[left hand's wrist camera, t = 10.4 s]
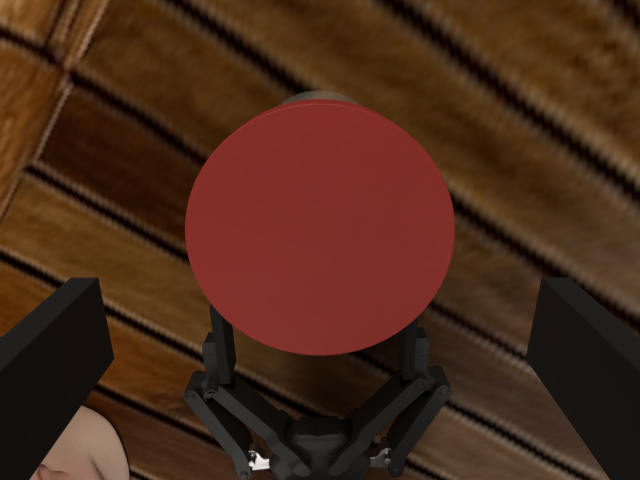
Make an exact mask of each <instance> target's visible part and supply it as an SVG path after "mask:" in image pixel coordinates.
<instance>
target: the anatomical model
mask: <svg viewBox="0 0 640 480" xmlns="http://www.w3.org/2000/svg"><path fill="white" fill-rule="evenodd" d="M129 478H130V477H129V468H128V463H127V459H126V456H125V453H124V450H123V447H122V444H121V442H120V439H119V437H118V435H117V433H116V431H115V430H114V428H113V427H112V425H111V424H110V423H109V422H108V421H107V420H106V419H105V418H104V417H103V416H101V415H100V414H99V413H97V412H95V411H93V410H91V409H89V408H87V407H84V406H81V407H80V408H79V410H78V411H77V413H76V414H75V416H74V417H73V418H72V420H71V421H70V423H69V424H68V426H67V427H66V428H65V430H64V431H63V433H62V434H61V436H60V437H59V438H58V440H57V441H56V443H55V444H54V446H53V447H52V448H51V450H50V451H49V453H48V454H47V456H46V457H45V458H44V460H43V461H42V463H41V464H40V466H39V467H38V468H37V470H36V471H35V473H34V474H33V476H32V477H31V478H30V480H129Z"/></svg>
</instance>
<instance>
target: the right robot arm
mask: <svg viewBox="0 0 640 480" xmlns="http://www.w3.org/2000/svg"><path fill="white" fill-rule="evenodd" d="M210 314H211V322H212V329H213V332H208V335H207V337H206V339H205V342H204V345H203V348H202V352H203V359H204V366H205V371H204V372H202V371H195V372H193V374H192V376H191V378H190V380H189V383H188V385H187V388H186V390H185V393H184V395H183V398H184V400H185V401H186V403H187V404H188V405H189V406H190V408H191V409H192V410H193V411H194V413H195V414H196V415H197V416H198V417H199V419H200V420H201V421H202V422H203V424H204V425H205V426H206V427H207V429H208V430H209V431H210V432H211V434H212V435H213V436H214V437H215V439H216V440H217V441H218V442H219V444H220V445H221V446H222V447H223V449H224V450H225V451H226V452H227V454H228V455H229V456H230V457H231V459H232V460H233V463H234V466H235V470H236V473H237V476H238V477H239V478H240V479H242V480H247V479H249V478H250V477H251V475H252V470H259V469H268V468H270V470H271V471H272V472H273V474H274V475H275V476H276V480H364V476H365V474H366V472H367V471H368V469H369V468H370V467H382V468H388V472H389V475H390V476H392V477H399V476H401V475H402V474H403V471H404V466H405V461H406V457H407V456H408V454H409V453H410V451H411V450H412V448H413V447H414V446H415V444H416V443H417V441H418V440H419V439H420V437H421V436H422V434H423V433H424V432H425V430H426V429H427V427H428V426H429V425H430V423H431V422H432V420H433V419H434V418H435V416H436V415H437V413H438V412H439V411H440V409H441V408H442V406H443V405H444V404H445V402H446V401H447V399H448V398H449V396H450V395H451V393H452V390H451V387H450V385H449V382H448V380H447V377H446V375H445V372H444V370H443V368H442V367H440V366H433V367H429V366H428V360H429V346H430V344H429V341H428V339H427V336H426V334H425V331H424V329H423V328H417V317H416V318H415V319H414V320H413V321H412V322H411V323H410V324H409V325H407V326H406V327H405V328H403V329H402V330H401V331H399V337H398V361H399V365H400V368H401V369H400V370H399V371H398V372H397V373H396V374H395V375H394V376H393V377H392V378H391V379H390V380H388V381H387V382H386V383H385V384H384V385H383V386H382V387H381V388H380V389H379V390H378V391H377V392H376V393H375V394H374V395H373V396H372V397H371V398H370V399H369V400H367V401H366V402H365V403H364V404H363V405H362V406H361V407H360V408H359V409H357V408H354V409H353V410H352V411H351V412H350V413H349V414H348V415H347V416H346V417H345V418H344V419H343V420H340V419H337V416H327V417H322V418H314V417H300V420H297V421H296V420H294V419H293V418H292V417H291V416H290V415H289V414H287V413H286V412H285V411H284V410H280V411H279V410H277V409H276V408H275V407H274V406H273V405H271V404H270V403H269V402H268V401H267V400H266V399H264V398H263V397H262V396H261V395H260V394H258V393H257V392H256V391H255V390H254V389H253V388H251V387H250V386H249V385H248V384H247V383H246V382H244V381H243V380H242V379H241V378H240V377H239V376H237V375H236V374H235V373H234V372H233V371H234V367H235V364H236V355H235V346H234V337H233V329H232V324H230V323H229V322H228V321H227V320H226V319H225V318H223V317H222V315H221V314H220V313H219V312H218V311H217V310H216V309H215V308H214V307H213V306H212V304H211V305H210ZM397 416H398V417H397ZM395 417H397V418H396V420H395V421H394V423H393V424H392V426H391V427H390V429H389V432H388V434H387V437H382V438H381V442H380V443H379V444H378V446H377V447H376V448H374V449H369V446H370V444H371V441H372V439H373V438H374V437H375V436H376V435H377V434H378V433H379V432H380V431H381V430H382V429H383V428H384V427H386V426H387V425H388V424H389V423H390V422H391V421H392V420H393V419H394V418H395ZM243 423H244V424H245V425H247V426H248V427H249V428H250V429H252V430H253V431H254V432H255V433H256V434H258V435H259V436H260V437H261V438H263V439H264V440H265V442H266V445H267V447H268V449H269V450H270V451H266V450H263V449H262V448H261V446H260V445H259V441H258V440H257V439H252V436H251V434H250V432H249V431H248V429H247V428H246V426H245V425H244V424H243Z"/></svg>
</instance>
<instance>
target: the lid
mask: <svg viewBox="0 0 640 480" xmlns="http://www.w3.org/2000/svg"><path fill="white" fill-rule="evenodd" d="M185 237H186V248H187V252H188V257H189V261H190V265H191V267H192V270H193V273H194V275H195V278H196V280H197V282H198V284H199V286H200V288H201V289H202V291H203V293H204V294H205V296H206V297H207V299H208V300H209V301H210V303H211V304H212V306H213V307H214V308H215V309H216V310H217V311H218V312H219V313H220V314H221V315H222V317H223V318H225V319H226V320H227V321H228V322H229V323H230V324H232V325H233V326H234V327H235V328H237V329H238V330H240V331H241V332H243V333H244V334H246V335H247V336H249V337H251V338H253V339H255V340H256V341H258V342H260V343H262V344H265V345H268V346H270V347H273V348H276V349H279V350H283V351H287V352H291V353H296V354H304V355H323V356H325V355H337V354H344V353H349V352H354V351H358V350H361V349H364V348H367V347H370V346H373V345H375V344H377V343H379V342H382V341H384V340H386V339H388V338H389V337H391V336H393V335H394V334H396V333H398V332H399V331H401V330H402V329H403V328H405V327H406V326H407V325H409V324H410V323H411V322H412V321H413V320H414V319H415V318H416V317H417V316H418V315H419V314H421V313H422V312H423V310H424V309H425V308H426V307H427V305H428V304H429V303H430V302H431V300H432V299H433V298H434V296H435V294H436V293H437V291H438V290H439V288H440V286H441V284H442V282H443V280H444V278H445V275H446V273H447V271H448V268H449V264H450V261H451V258H452V254H453V247H454V240H455V219H454V212H453V205H452V201H451V198H450V194H449V191H448V188H447V186H446V183H445V181H444V179H443V177H442V174H441V172H440V171H439V169H438V168H437V166H436V164H435V163H434V161H433V160H432V158H431V157H430V156H429V154H428V153H427V152H426V151H425V150H424V149H423V147H422V146H421V145H420V144H419V143H418V142H417V141H416V140H414V139H413V138H412V137H411V136H410V135H409V134H408V133H407V132H405V131H404V130H403V129H402V128H400V127H399V126H398V125H396V124H395V123H393V122H392V121H390V120H389V119H387V118H386V117H384V116H383V115H381V114H379V113H377V112H375V111H373V110H371V109H368V108H366V107H363V106H360V105H357V104H354V103H351V102H345V101H339V100H333V99H309V100H300V101H295V102H291V103H287V104H283V105H280V106H277V107H275V108H272V109H270V110H267V111H265V112H263V113H261V114H259V115H258V116H256V117H254V118H252V119H251V120H249V121H248V122H247V123H245V124H244V125H243V126H242V127H240V128H239V129H238V130H236V131H235V132H234V133H233V134H231V135H230V136H229V137H228V138H226V139H225V140H224V141H223V142H222V144H221V145H220V146H219V147H218V148H217V149H216V150H215V151H214V152H213V153H212V155H211V156H210V157H209V159H208V160H207V162H206V163H205V164H204V166H203V167H202V169H201V171H200V173H199V175H198V177H197V179H196V181H195V183H194V186H193V189H192V192H191V194H190V197H189V202H188V207H187V212H186V223H185Z"/></svg>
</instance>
